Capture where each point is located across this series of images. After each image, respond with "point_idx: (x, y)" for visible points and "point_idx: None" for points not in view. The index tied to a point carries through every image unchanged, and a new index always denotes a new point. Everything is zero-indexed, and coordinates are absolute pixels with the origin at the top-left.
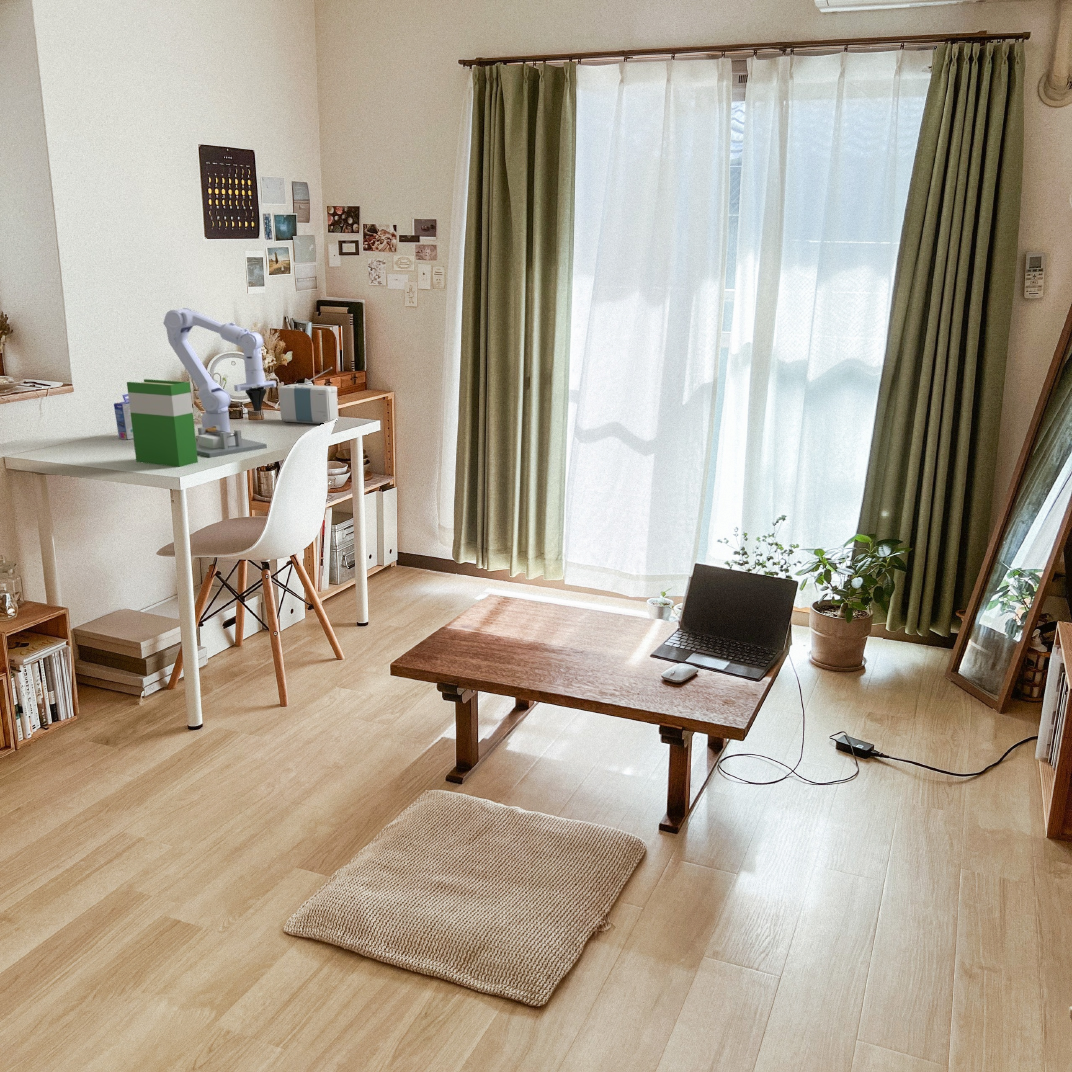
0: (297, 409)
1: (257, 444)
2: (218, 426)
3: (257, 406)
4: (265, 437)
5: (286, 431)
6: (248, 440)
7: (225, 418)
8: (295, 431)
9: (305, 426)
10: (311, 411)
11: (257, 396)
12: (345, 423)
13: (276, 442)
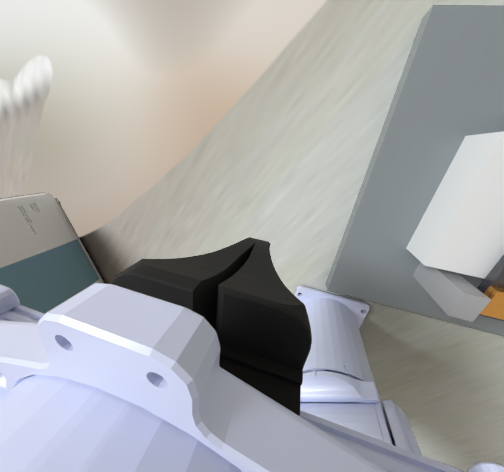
0: (69, 290)
1: (464, 38)
2: (473, 293)
3: (266, 249)
4: (251, 216)
5: (164, 229)
6: (377, 173)
7: (331, 346)
8: (149, 208)
9: (104, 235)
10: (48, 249)
11: (255, 277)
12: (22, 177)
13: (296, 104)
